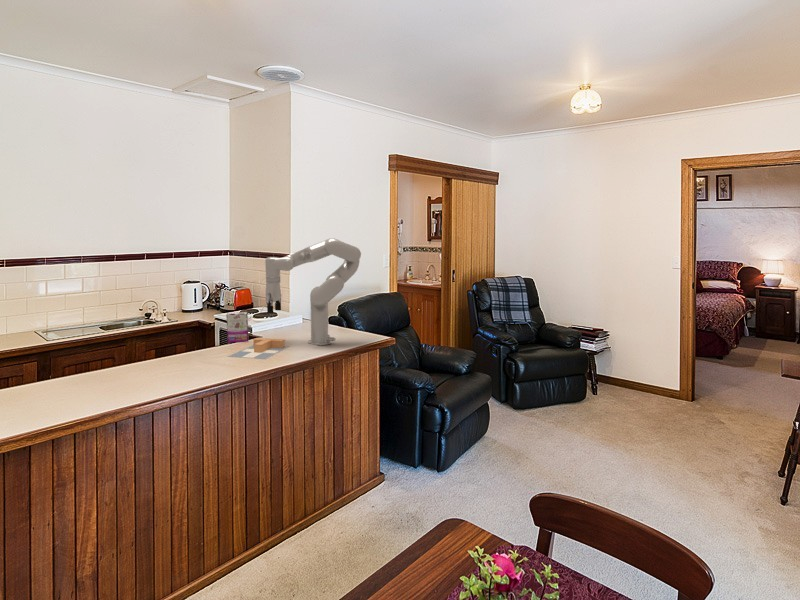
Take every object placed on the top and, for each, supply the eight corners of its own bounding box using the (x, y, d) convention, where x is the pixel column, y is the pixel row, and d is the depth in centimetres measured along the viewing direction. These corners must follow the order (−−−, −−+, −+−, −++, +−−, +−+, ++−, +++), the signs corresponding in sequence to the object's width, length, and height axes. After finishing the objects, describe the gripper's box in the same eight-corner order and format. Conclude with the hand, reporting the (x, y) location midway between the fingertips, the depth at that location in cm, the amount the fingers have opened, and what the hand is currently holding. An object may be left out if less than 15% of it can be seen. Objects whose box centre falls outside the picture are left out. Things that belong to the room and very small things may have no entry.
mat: (290, 346, 279) (290, 345, 279) (265, 360, 250) (265, 359, 250) (256, 344, 283) (256, 343, 283) (227, 357, 254) (227, 356, 254)
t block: (284, 346, 276) (284, 339, 276) (272, 353, 262) (272, 345, 261) (257, 345, 280) (256, 337, 279) (243, 351, 265) (243, 343, 264)
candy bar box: (248, 340, 293) (247, 311, 291) (248, 342, 288) (247, 313, 286) (227, 341, 290) (226, 312, 288) (227, 343, 285) (226, 313, 283)
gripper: (273, 278, 288) (274, 309, 290) (259, 281, 271) (260, 314, 273) (286, 278, 286) (287, 309, 289) (272, 281, 269) (274, 314, 272)
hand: (274, 311), depth 281 cm, fingers open, 9 cm apart
